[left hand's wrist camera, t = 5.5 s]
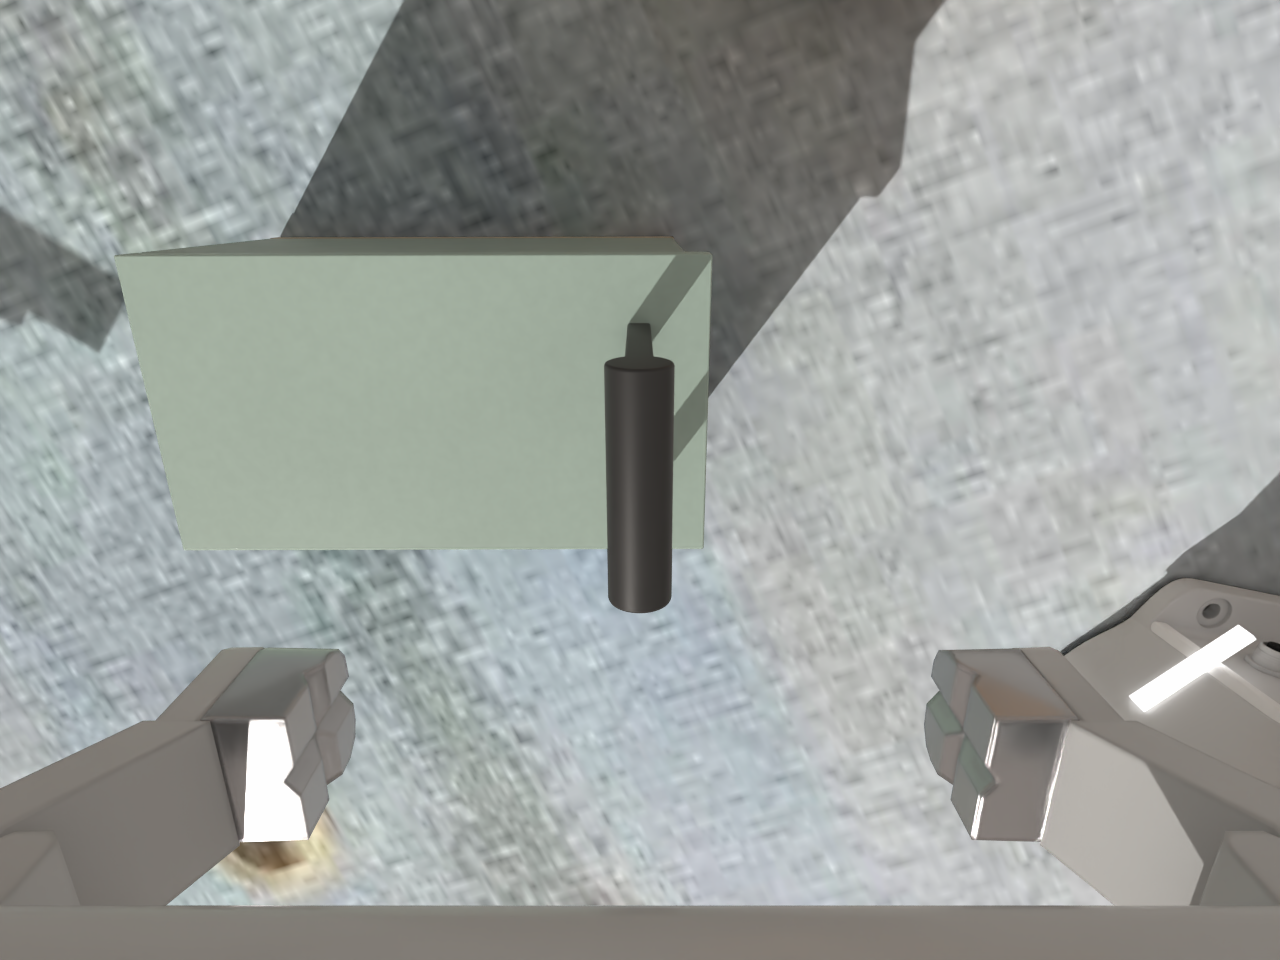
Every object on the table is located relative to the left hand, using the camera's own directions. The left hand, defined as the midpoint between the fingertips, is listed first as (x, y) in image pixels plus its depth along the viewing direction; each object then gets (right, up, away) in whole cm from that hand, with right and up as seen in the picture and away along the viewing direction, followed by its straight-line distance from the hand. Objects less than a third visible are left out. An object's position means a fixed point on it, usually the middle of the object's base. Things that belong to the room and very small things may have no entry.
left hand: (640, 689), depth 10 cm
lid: (-7, +5, +14) cm, 17 cm away
